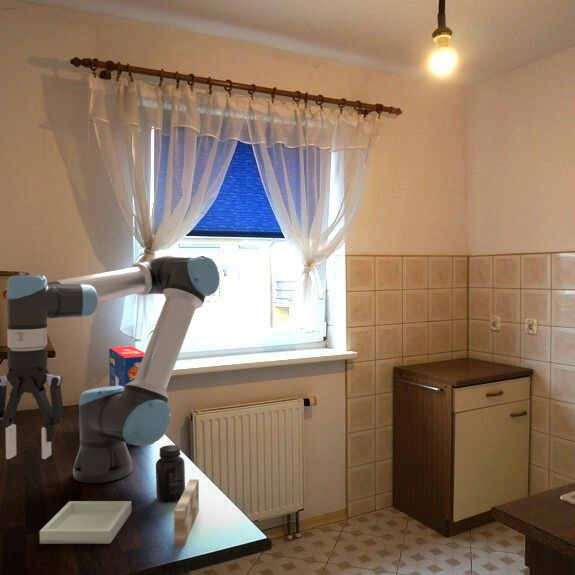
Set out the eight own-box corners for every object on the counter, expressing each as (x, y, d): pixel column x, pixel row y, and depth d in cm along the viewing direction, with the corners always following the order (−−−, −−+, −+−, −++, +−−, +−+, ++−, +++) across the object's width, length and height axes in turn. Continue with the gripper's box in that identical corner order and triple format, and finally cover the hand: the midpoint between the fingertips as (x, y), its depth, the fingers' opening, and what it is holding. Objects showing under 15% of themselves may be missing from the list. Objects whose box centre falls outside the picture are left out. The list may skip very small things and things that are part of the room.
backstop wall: (190, 510, 119) (189, 479, 119) (198, 510, 119) (198, 479, 119) (174, 545, 103) (174, 510, 103) (184, 545, 103) (184, 510, 103)
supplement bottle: (187, 491, 129) (186, 443, 129) (182, 503, 122) (182, 452, 122) (159, 491, 129) (158, 443, 129) (153, 503, 122) (152, 452, 122)
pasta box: (151, 442, 169) (150, 355, 169) (125, 445, 165) (125, 357, 165) (132, 421, 194) (131, 346, 193) (110, 424, 190) (109, 347, 189)
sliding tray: (69, 512, 118) (69, 501, 118) (131, 512, 118) (131, 501, 118) (39, 543, 104) (39, 531, 104) (110, 543, 104) (110, 531, 104)
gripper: (-30, 350, 107) (-29, 463, 107) (66, 350, 106) (68, 462, 107) (-9, 346, 114) (-8, 451, 114) (81, 345, 114) (82, 450, 114)
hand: (28, 456), depth 111 cm, fingers open, 7 cm apart
